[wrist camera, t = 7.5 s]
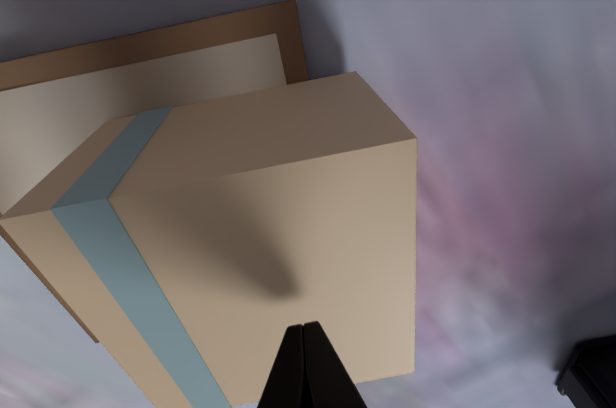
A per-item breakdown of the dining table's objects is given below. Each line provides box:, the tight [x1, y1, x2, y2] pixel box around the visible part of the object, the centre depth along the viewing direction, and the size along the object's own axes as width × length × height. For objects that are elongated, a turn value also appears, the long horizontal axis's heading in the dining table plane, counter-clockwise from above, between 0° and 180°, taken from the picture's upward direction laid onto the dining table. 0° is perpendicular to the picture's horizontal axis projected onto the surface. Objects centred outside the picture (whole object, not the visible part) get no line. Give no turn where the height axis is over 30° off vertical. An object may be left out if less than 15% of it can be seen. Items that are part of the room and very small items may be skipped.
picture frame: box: [0, 0, 309, 343], centre depth 15 cm, size 14×14×1 cm
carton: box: [0, 71, 417, 408], centre depth 12 cm, size 6×9×9 cm
